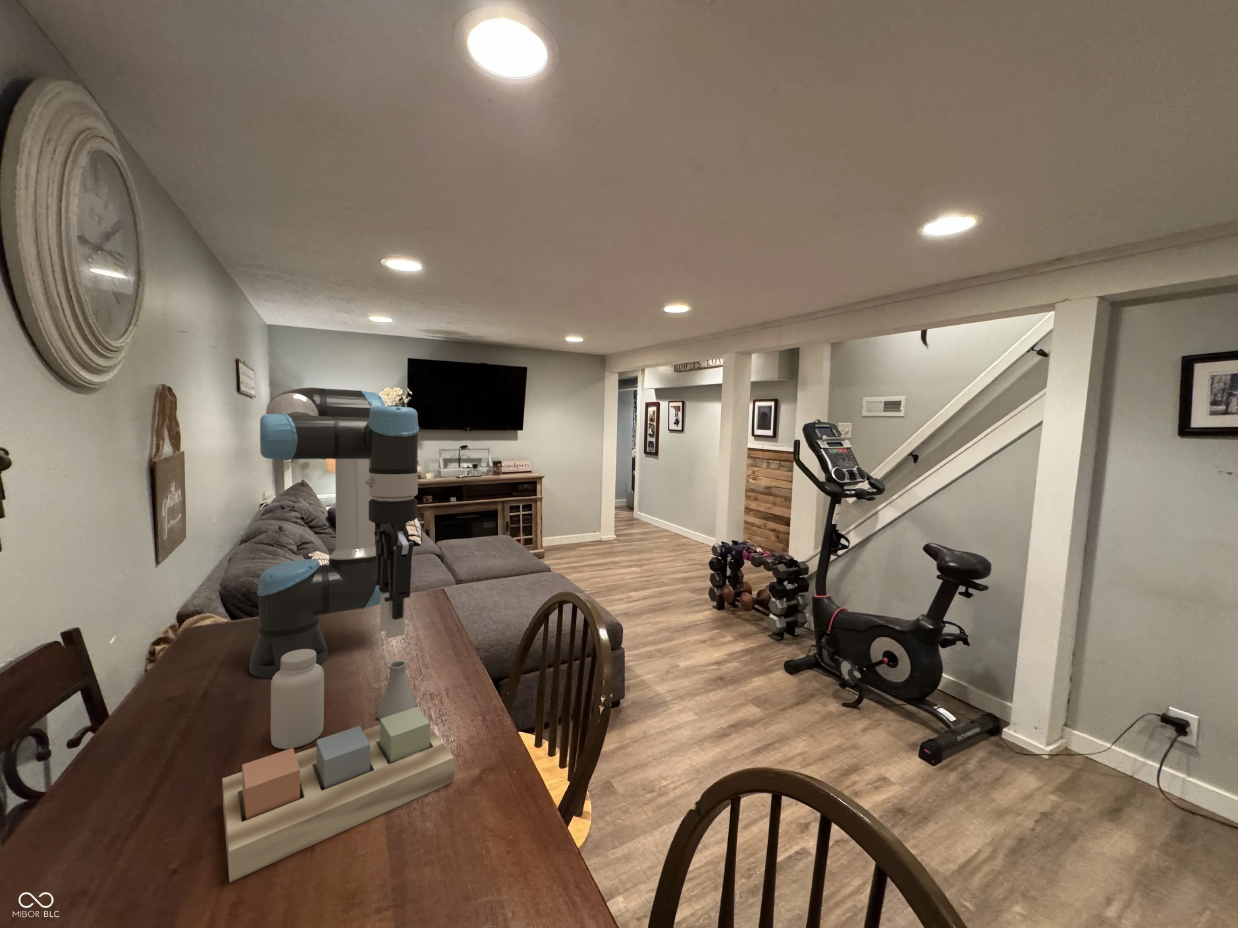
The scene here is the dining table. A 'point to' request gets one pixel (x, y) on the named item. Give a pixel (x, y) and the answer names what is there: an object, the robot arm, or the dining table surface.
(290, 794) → the button terracotta
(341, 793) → the panel
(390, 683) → the flask
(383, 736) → the button sage
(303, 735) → the pill bottle
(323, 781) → the button slate
